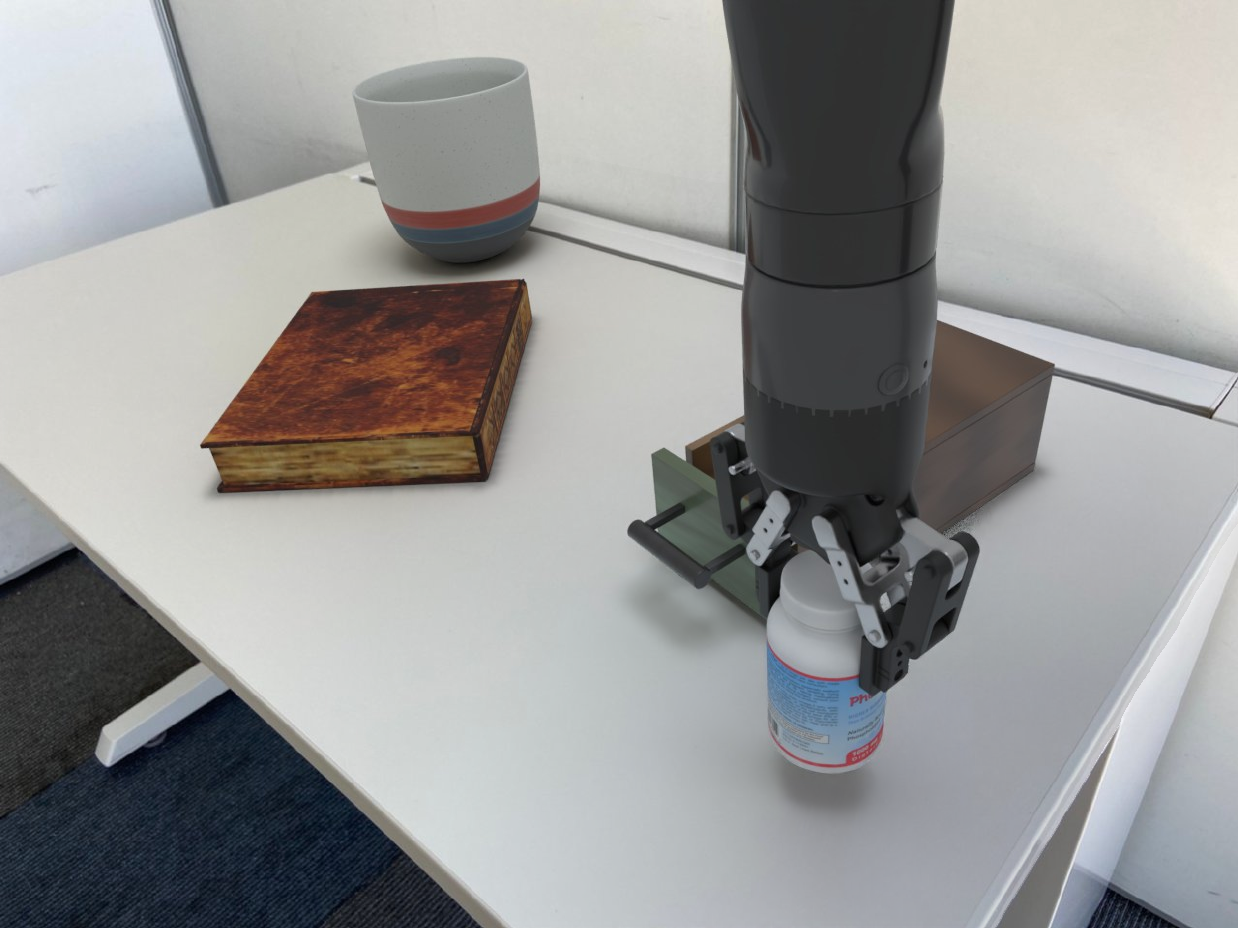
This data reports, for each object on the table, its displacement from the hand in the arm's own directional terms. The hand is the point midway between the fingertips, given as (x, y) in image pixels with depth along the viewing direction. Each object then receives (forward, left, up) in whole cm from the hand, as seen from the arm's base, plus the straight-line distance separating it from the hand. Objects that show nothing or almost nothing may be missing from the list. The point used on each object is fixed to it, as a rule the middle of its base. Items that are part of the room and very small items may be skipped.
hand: (826, 645), depth 48 cm
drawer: (+15, -11, -10) cm, 21 cm away
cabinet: (+15, -25, -10) cm, 31 cm away
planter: (+83, -25, -11) cm, 88 cm away
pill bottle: (0, 0, -7) cm, 7 cm away
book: (+57, -1, -11) cm, 58 cm away
